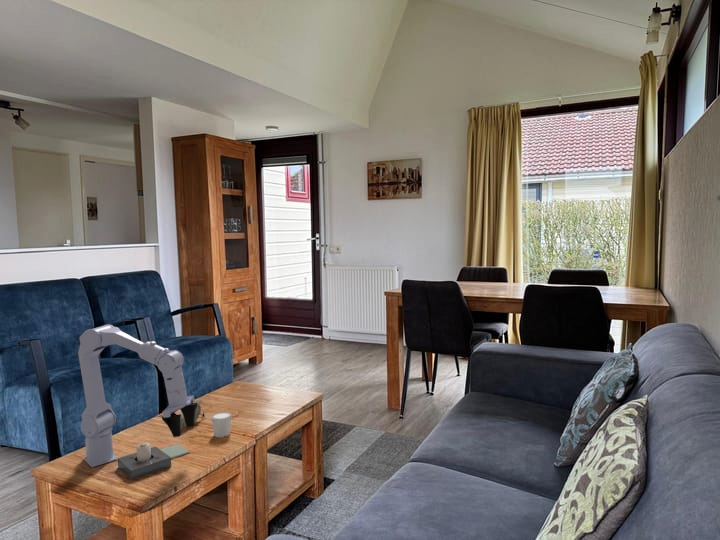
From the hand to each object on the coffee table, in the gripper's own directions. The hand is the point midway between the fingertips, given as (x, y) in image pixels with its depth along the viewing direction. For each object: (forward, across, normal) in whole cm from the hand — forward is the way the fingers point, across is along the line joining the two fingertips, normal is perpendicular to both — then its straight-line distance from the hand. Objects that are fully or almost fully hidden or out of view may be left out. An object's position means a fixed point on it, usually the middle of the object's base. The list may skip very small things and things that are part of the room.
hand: (183, 431), depth 159 cm
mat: (+9, +7, +10) cm, 15 cm away
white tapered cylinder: (+11, +24, +1) cm, 26 cm away
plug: (+9, -5, +13) cm, 16 cm away
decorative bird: (+9, +30, +18) cm, 37 cm away
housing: (+9, -5, +13) cm, 16 cm away
